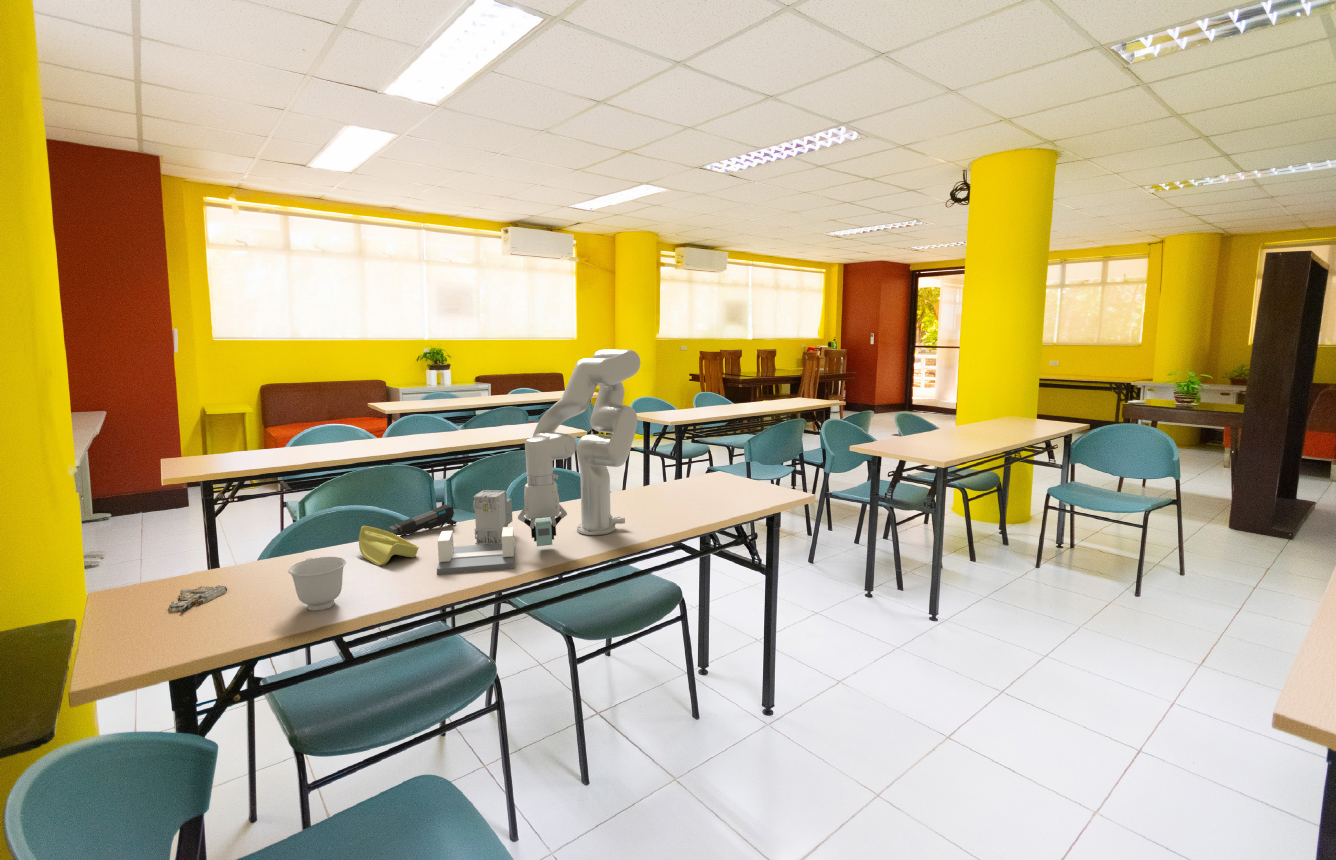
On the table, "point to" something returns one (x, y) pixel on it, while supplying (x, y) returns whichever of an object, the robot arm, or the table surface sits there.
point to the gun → (425, 521)
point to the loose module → (543, 532)
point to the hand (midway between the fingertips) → (544, 538)
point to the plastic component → (383, 545)
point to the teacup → (318, 581)
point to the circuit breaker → (491, 515)
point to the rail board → (475, 554)
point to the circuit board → (196, 597)
